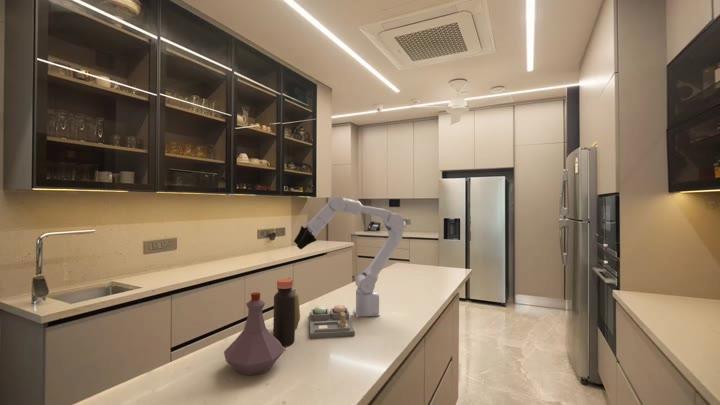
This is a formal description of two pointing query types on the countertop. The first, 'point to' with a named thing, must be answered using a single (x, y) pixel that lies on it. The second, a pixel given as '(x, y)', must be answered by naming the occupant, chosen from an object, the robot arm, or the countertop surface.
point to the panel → (329, 325)
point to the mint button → (320, 310)
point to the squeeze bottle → (296, 307)
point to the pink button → (339, 309)
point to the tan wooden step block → (342, 320)
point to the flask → (254, 343)
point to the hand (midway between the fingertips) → (297, 245)
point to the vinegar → (284, 313)
